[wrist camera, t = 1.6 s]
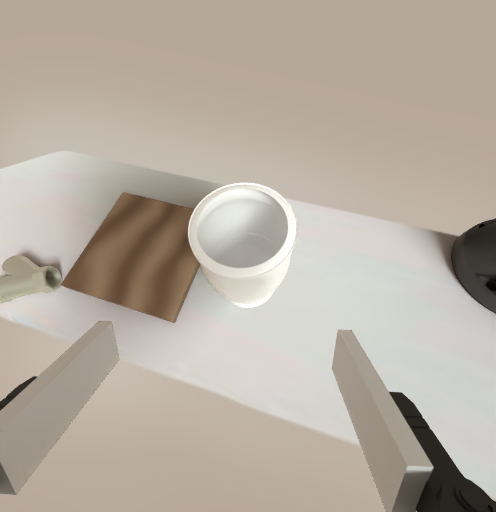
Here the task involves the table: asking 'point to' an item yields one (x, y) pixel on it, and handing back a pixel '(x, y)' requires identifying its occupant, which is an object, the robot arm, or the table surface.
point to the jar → (243, 241)
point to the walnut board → (139, 258)
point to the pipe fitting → (26, 278)
